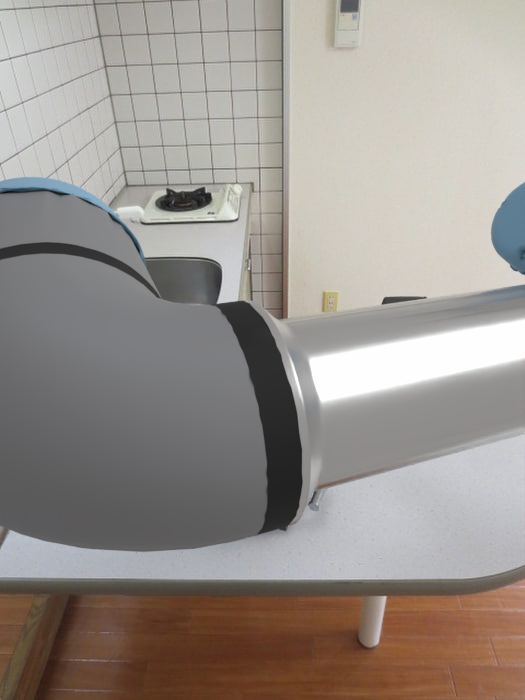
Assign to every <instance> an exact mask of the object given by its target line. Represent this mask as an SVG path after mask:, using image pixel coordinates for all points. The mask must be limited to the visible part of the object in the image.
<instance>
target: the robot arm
mask: <svg viewBox="0 0 525 700" xmlns="http://www.w3.org/2000/svg"><path fill="white" fill-rule="evenodd" d="M490 240H491V243H492V246H493V248H494V250H495V252H496V253H497V255H498V256H499V257H500V258H501V259H503V260H504V261H505V262H506V263H507V264H508V265H509V267H510V269H511V270H512V271H513V272H518V273H519V274H521V275H523V276H525V181H524V182H522V183H521V184H519V185H518V186H517V187H515V188H514V189H512V191H511V192H510V193H509V194H507V196H506V197H505V199H504V200H503V201H502V202H501V203H500V206H499V207H498V208H497V210H496V211H495V213H494V216H493V220H492V222H491V227H490ZM523 435H525V284H518V285H511V286H510V285H509V286H503V287H497V288H490V289H483V290H476V291H469V292H461V293H455V294H447V295H441V296H433V297H427V298H426V299H419V300H412V301H405V302H398V303H391V304H384V305H382V304H378V305H377V304H376V305H371V306H364V307H363V306H362V307H357V308H348V309H342V310H335V311H334V310H333V311H327V312H321V313H315V314H307V315H300V316H294V317H292V316H291V317H286V318H280V319H279V318H276V317H275V316H274V315H272V314H271V313H270V312H269V311H267V310H266V309H265V308H264V307H263V306H262V305H261V304H259V303H258V302H256V301H254V300H251V299H245V300H244V299H243V300H235V301H227V302H219V303H211V304H188V303H181V302H173V301H170V300H167V299H163V298H162V296H161V294H160V291H159V290H158V288H157V287H156V284H155V283H154V281H153V278H152V277H151V275H150V273H149V271H148V269H147V263H146V258H145V255H144V252H143V249H142V246H141V244H140V242H139V240H138V239H137V236H136V235H135V233H134V232H133V231H132V230H131V229H130V228H129V227H128V225H127V224H126V223H125V222H124V221H123V220H122V219H121V218H120V217H119V216H118V215H117V213H115V211H114V210H113V209H112V208H111V207H110V206H108V204H106V202H104V201H103V200H102V199H100V198H99V197H97V196H96V195H94V194H93V193H91V192H90V191H87V190H86V189H83V188H82V187H79V186H77V185H75V184H72V183H69V182H66V181H62V180H58V179H54V178H49V177H43V176H42V177H40V176H22V177H21V176H20V177H14V178H8V179H3V180H0V550H1V549H2V547H3V545H4V544H5V541H6V540H7V538H8V536H9V534H10V532H11V531H12V532H14V533H17V534H18V535H19V534H20V535H23V536H26V537H29V538H32V539H33V538H34V539H37V540H39V541H43V542H48V543H51V544H52V543H53V544H58V545H64V546H70V547H74V548H80V549H88V550H98V551H99V550H103V551H117V552H120V551H121V552H136V553H137V552H138V553H147V552H148V553H150V552H164V551H181V550H182V551H183V550H195V549H201V548H206V547H212V546H217V545H223V544H228V543H234V542H237V541H240V540H244V539H248V538H252V537H255V536H258V535H262V534H266V533H269V532H272V531H276V530H280V528H283V527H286V526H288V527H289V526H292V525H294V524H296V523H298V522H299V520H300V519H302V517H303V515H304V512H305V511H306V508H307V507H308V506H307V504H308V502H309V500H310V501H311V498H312V496H313V493H314V492H315V491H319V490H323V489H326V488H327V489H329V488H333V487H337V486H341V485H344V484H348V483H352V482H355V481H359V480H362V479H366V478H371V477H373V476H377V475H381V474H385V473H389V472H392V471H396V470H399V469H403V468H406V467H410V466H413V465H414V466H415V465H417V464H421V463H424V462H429V461H432V460H435V459H439V458H444V457H446V456H450V455H453V454H458V453H462V452H465V451H468V450H473V449H475V448H480V447H484V446H486V445H490V444H495V443H498V442H501V441H505V440H509V439H513V438H517V437H520V436H523Z"/></svg>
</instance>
